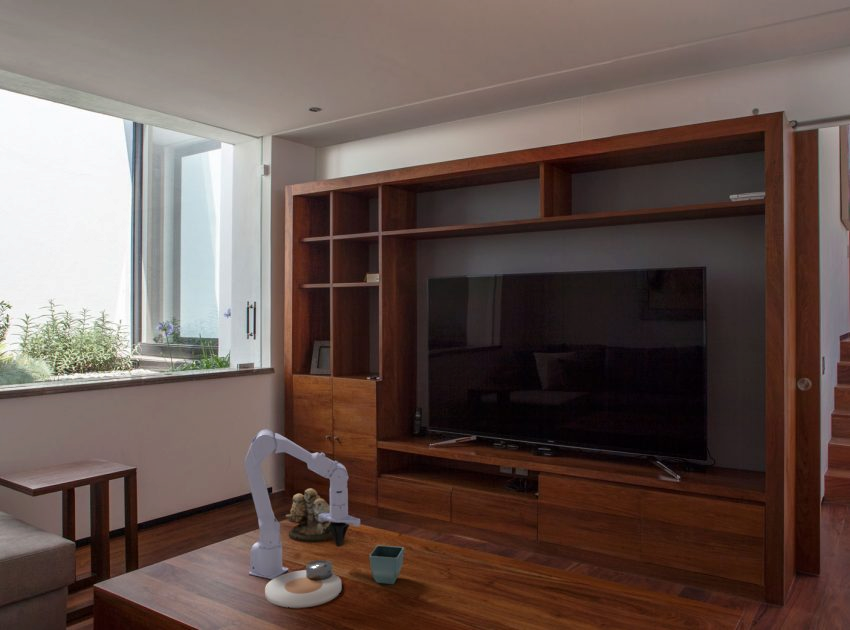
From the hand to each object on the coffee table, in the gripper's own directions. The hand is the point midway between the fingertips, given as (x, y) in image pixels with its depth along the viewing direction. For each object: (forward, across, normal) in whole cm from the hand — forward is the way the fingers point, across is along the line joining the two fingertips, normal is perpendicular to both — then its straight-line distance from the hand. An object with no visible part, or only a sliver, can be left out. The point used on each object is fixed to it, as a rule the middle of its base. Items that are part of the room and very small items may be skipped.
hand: (339, 545), depth 211 cm
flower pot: (+7, -19, +3) cm, 20 cm away
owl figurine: (+7, +25, -19) cm, 32 cm away
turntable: (+7, 0, +19) cm, 20 cm away
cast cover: (+5, 0, +11) cm, 12 cm away
